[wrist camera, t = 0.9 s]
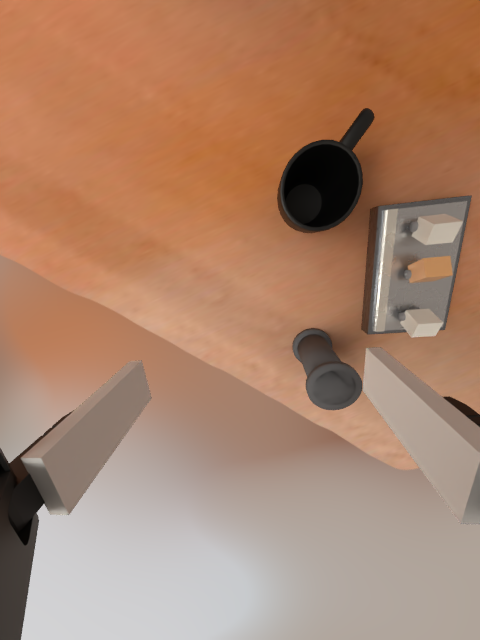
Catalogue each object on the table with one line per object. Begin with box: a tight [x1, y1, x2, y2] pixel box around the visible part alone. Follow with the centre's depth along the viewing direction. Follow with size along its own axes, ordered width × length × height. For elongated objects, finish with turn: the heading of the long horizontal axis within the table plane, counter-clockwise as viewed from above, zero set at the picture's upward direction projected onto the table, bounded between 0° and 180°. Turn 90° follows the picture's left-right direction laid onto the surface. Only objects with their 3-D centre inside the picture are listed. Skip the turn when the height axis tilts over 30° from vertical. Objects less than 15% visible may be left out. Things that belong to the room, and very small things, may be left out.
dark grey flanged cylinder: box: [293, 329, 362, 410], centre depth 32 cm, size 6×6×12 cm
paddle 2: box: [398, 309, 443, 337], centre depth 31 cm, size 2×4×4 cm, turn 95°
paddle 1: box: [409, 214, 463, 245], centre depth 27 cm, size 2×4×4 cm, turn 95°
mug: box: [277, 108, 374, 233], centre depth 26 cm, size 8×12×10 cm
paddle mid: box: [403, 256, 453, 283], centre depth 28 cm, size 2×4×4 cm, turn 97°
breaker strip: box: [361, 195, 472, 334], centre depth 32 cm, size 18×11×3 cm, turn 6°
